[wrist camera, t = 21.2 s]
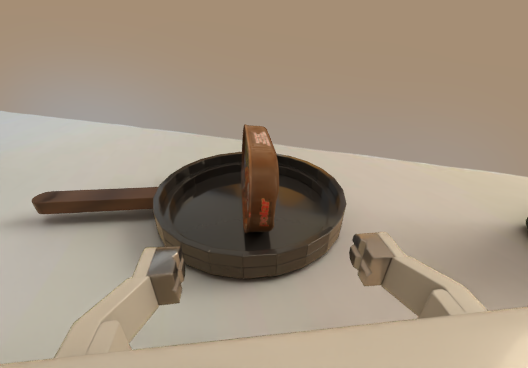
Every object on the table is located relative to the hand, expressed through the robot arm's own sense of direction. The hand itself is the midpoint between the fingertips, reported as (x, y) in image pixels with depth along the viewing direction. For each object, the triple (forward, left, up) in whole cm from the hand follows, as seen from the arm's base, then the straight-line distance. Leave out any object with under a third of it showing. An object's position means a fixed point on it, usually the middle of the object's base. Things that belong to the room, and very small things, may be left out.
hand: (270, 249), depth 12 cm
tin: (+1, +15, -8) cm, 17 cm away
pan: (0, +15, -9) cm, 17 cm away
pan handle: (-16, +15, -7) cm, 23 cm away
